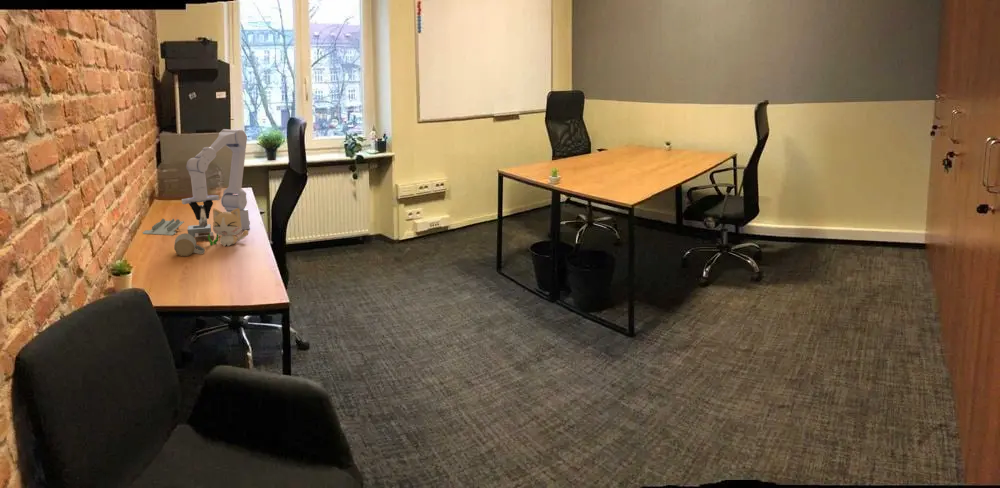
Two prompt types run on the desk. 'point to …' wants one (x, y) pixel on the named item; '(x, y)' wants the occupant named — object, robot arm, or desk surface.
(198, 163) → the robot arm
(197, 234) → the mount
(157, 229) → the metal bracket
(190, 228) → the dock
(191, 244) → the ceramic mug
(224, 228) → the kitten
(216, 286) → the desk surface
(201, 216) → the pin
